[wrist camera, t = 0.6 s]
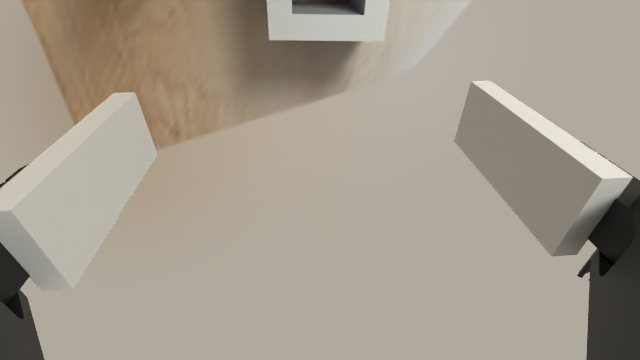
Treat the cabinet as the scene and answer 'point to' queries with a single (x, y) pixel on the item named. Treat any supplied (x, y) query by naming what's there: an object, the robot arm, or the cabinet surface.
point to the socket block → (328, 20)
